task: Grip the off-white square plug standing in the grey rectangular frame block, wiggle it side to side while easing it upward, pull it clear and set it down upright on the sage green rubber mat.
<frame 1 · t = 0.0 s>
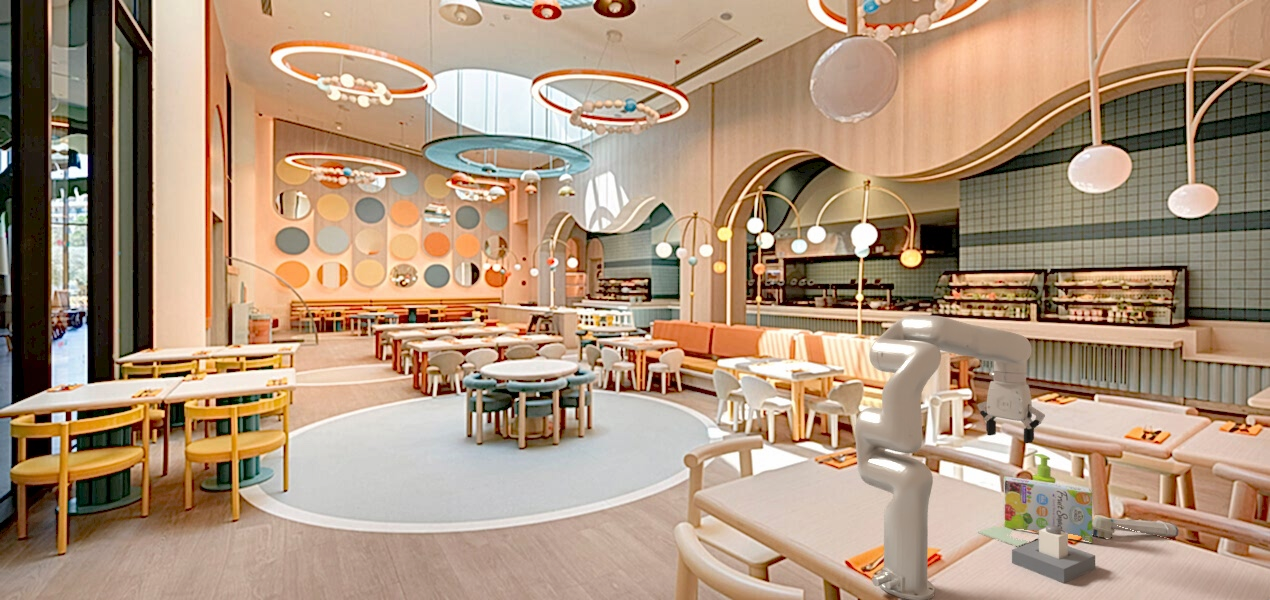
hand: (1009, 438, 156), 31 cm above the table, tool pointing down, fingers open, 9 cm apart
soap dispenser: (1042, 517, 179), on the table
plug: (1053, 546, 146), in the grey rectangular frame block
grey rectangular frame block: (1053, 565, 146), on the table
hair straightener: (1132, 537, 165), on the table
snack box: (1045, 533, 167), on the table
mat: (1007, 536, 164), on the table
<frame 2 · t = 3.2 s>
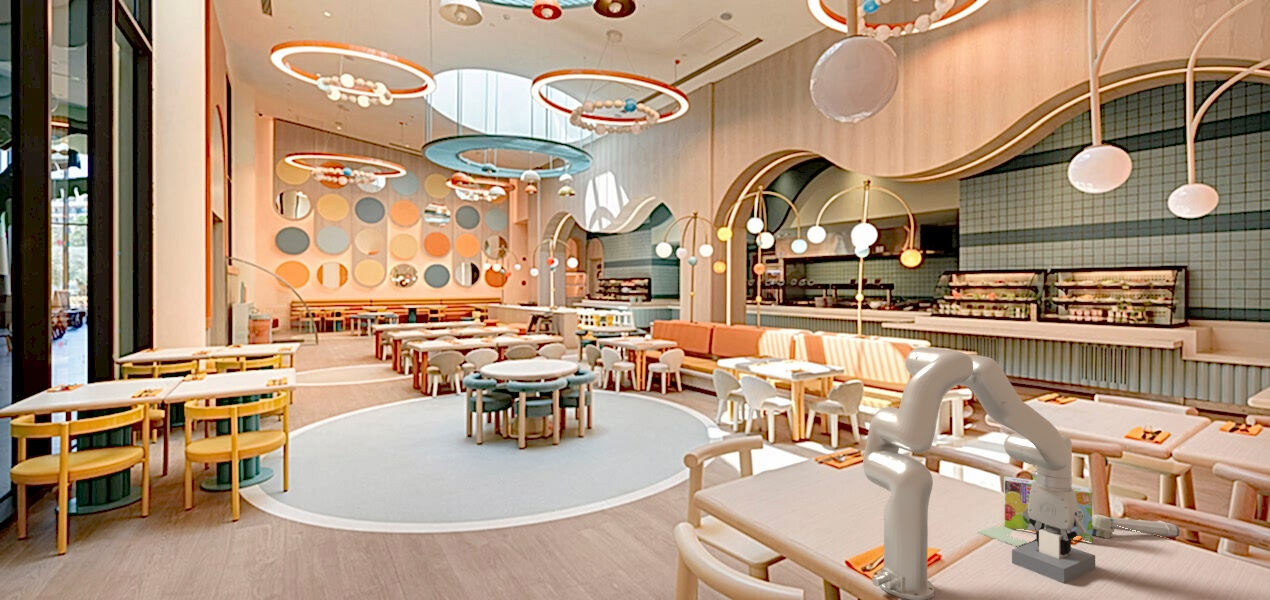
hand: (1053, 549, 146), 4 cm above the table, tool pointing down, fingers closed on plug, 4 cm apart
plug: (1053, 546, 146), in the grey rectangular frame block, touching gripper
everything else where it was.
when the fingers open (6 cm above the table, at t = 11.7 s): plug stays where it is, resting on mat.
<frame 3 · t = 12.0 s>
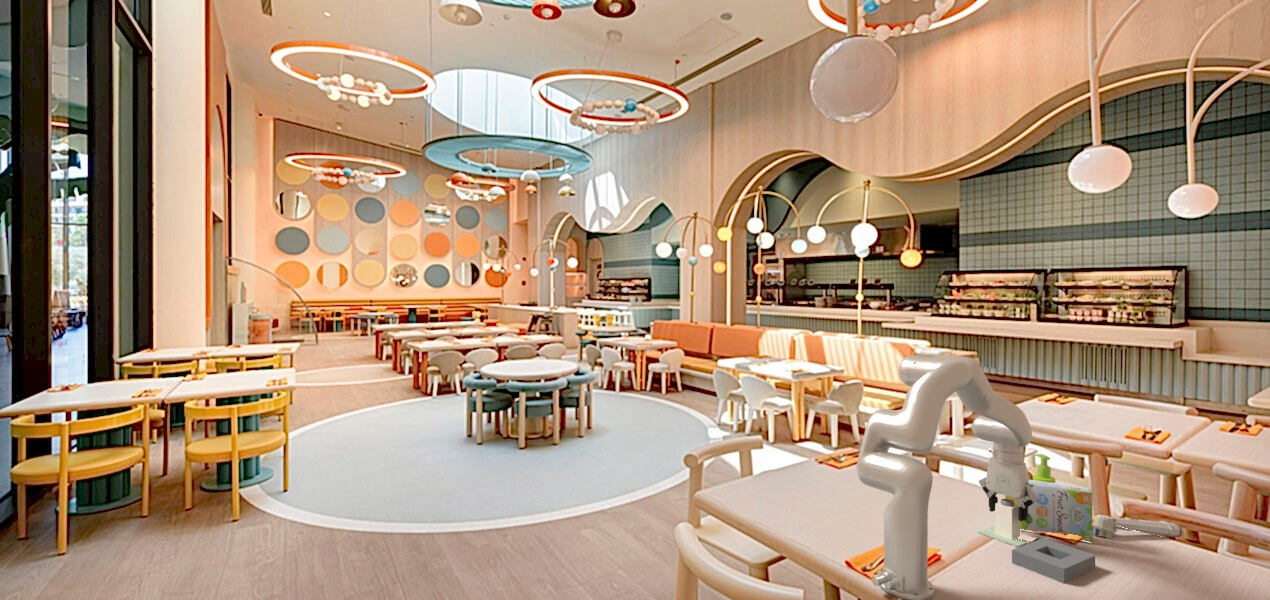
hand: (1007, 514, 164), 6 cm above the table, tool pointing down, fingers open, 7 cm apart
plug: (1007, 517, 164), on the mat
everything else where it was.
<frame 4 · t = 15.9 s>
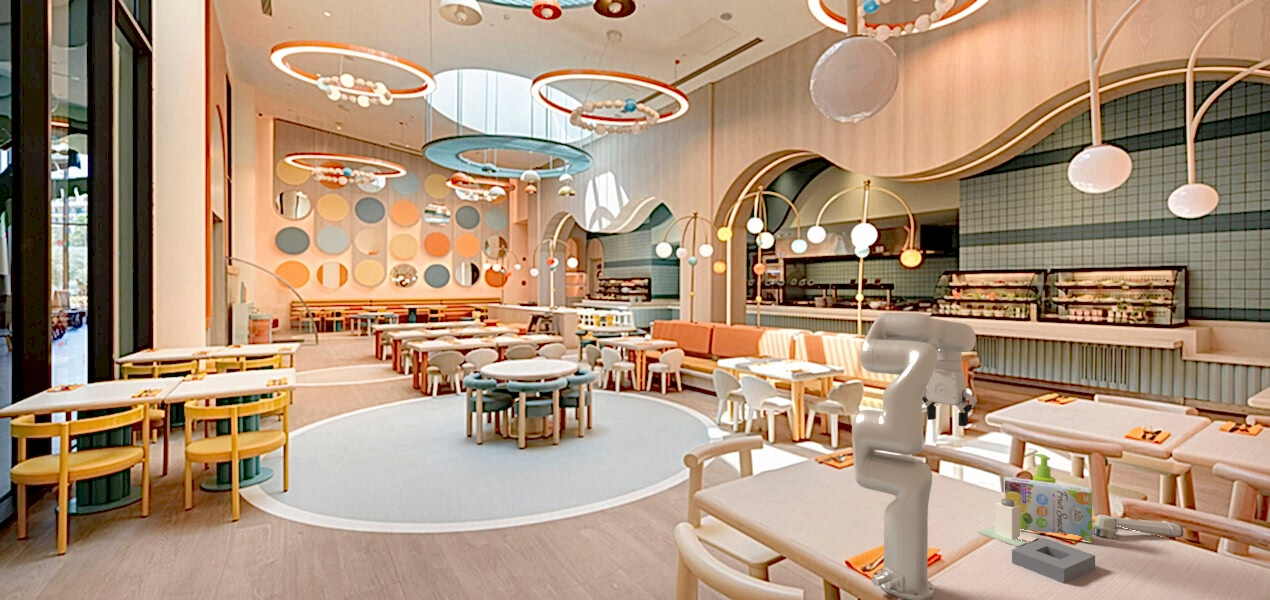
hand: (946, 422, 166), 33 cm above the table, tool pointing down, fingers open, 9 cm apart
at the end: plug inside the target area on the mat (0.0 cm from its centre), point 5.5 cm above the mat's base; plug tilted 0°; the gripper is holding nothing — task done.
